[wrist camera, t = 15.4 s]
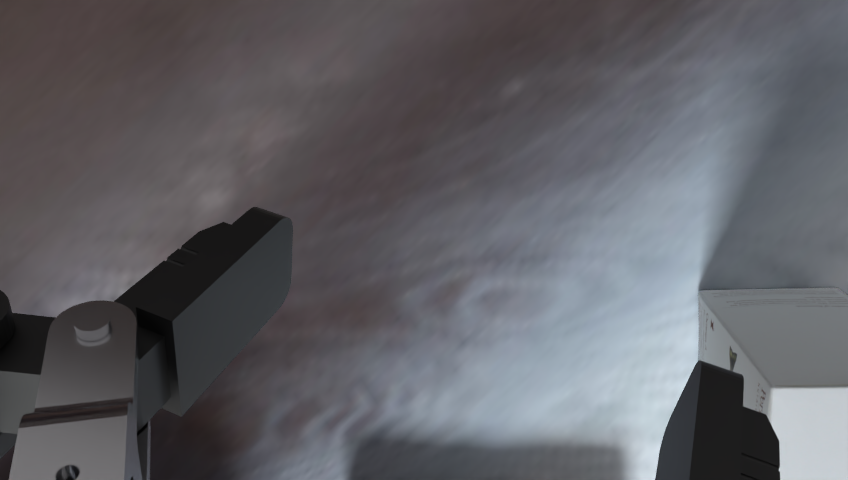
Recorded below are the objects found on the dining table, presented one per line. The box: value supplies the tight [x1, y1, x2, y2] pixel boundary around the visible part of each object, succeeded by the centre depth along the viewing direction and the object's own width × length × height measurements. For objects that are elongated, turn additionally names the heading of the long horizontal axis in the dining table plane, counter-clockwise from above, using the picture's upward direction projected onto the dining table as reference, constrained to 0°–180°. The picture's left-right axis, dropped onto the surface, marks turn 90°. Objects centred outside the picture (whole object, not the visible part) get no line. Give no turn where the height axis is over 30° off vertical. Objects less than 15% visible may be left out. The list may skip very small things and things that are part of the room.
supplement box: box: [698, 288, 848, 480], centre depth 34 cm, size 7×7×13 cm
